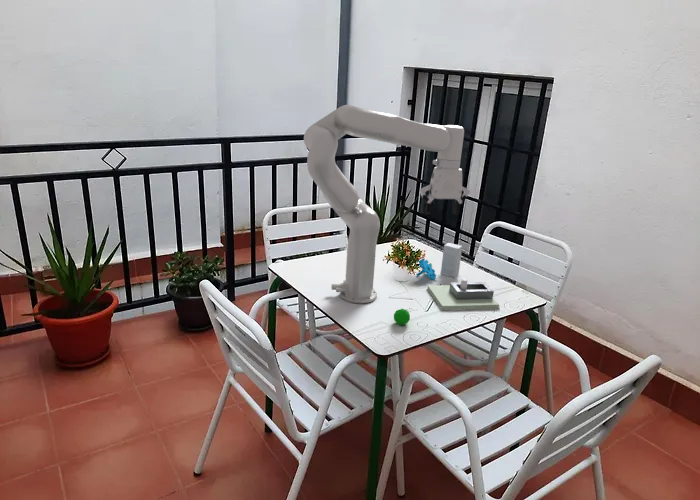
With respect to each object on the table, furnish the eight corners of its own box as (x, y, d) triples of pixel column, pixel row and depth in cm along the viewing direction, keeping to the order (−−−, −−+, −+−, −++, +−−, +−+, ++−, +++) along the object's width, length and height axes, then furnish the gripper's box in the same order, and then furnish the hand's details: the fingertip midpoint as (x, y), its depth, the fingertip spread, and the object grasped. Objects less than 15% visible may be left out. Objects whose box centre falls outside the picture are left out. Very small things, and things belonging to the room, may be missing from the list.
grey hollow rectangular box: (456, 299, 167) (457, 291, 166) (449, 290, 174) (450, 282, 173) (492, 298, 169) (493, 291, 168) (483, 289, 176) (485, 282, 175)
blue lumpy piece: (433, 281, 180) (417, 258, 182) (420, 289, 183) (405, 267, 184) (441, 274, 190) (426, 253, 191) (429, 282, 193) (414, 261, 194)
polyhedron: (407, 320, 155) (409, 306, 153) (410, 327, 150) (411, 313, 149) (392, 319, 155) (393, 306, 153) (394, 327, 150) (395, 313, 148)
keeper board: (442, 310, 162) (444, 290, 160) (427, 289, 177) (429, 271, 175) (498, 308, 166) (501, 289, 163) (479, 288, 181) (482, 270, 178)
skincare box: (458, 274, 192) (462, 245, 187) (454, 278, 188) (458, 248, 184) (444, 270, 195) (448, 242, 190) (440, 274, 191) (443, 245, 187)
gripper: (426, 165, 157) (420, 217, 163) (477, 166, 159) (470, 217, 166) (419, 161, 164) (414, 210, 170) (468, 162, 166) (462, 211, 172)
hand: (442, 214), depth 168 cm, fingers open, 9 cm apart
